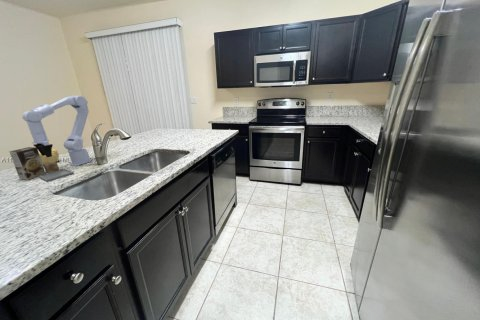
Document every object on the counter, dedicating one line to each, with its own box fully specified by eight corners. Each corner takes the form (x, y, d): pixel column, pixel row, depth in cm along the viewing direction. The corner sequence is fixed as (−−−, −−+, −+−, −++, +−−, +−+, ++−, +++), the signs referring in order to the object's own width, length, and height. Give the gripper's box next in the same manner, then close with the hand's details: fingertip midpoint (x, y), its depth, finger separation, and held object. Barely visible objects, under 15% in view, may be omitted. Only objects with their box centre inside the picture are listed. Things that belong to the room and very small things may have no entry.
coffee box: (28, 180, 110) (17, 152, 104) (19, 179, 111) (8, 151, 105) (46, 173, 118) (37, 147, 113) (37, 172, 119) (28, 146, 114)
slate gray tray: (65, 170, 122) (64, 168, 121) (74, 173, 116) (73, 171, 115) (39, 177, 112) (38, 175, 112) (47, 182, 106) (46, 179, 106)
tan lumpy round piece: (41, 167, 130) (35, 151, 126) (35, 164, 136) (29, 149, 132) (63, 161, 139) (58, 146, 135) (56, 159, 145) (51, 144, 141)
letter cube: (56, 169, 124) (53, 162, 122) (59, 171, 122) (57, 163, 120) (46, 172, 120) (42, 164, 118) (49, 174, 118) (46, 166, 116)
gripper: (24, 133, 114) (33, 156, 118) (33, 135, 106) (42, 159, 111) (40, 131, 119) (49, 153, 124) (50, 132, 112) (58, 156, 116)
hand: (47, 156), depth 118 cm, fingers open, 7 cm apart
